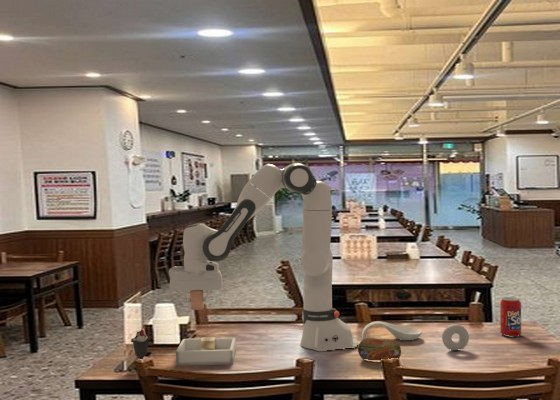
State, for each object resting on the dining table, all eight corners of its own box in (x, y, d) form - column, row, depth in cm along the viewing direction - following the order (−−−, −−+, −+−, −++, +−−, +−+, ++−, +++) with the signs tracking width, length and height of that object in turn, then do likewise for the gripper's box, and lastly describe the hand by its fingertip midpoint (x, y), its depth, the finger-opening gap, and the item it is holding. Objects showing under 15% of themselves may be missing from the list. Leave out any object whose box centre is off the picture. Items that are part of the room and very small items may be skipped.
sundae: (146, 371, 198) (145, 328, 198) (128, 370, 200) (127, 327, 199) (154, 364, 205) (153, 323, 204) (137, 364, 206) (135, 322, 205)
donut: (466, 348, 215) (466, 322, 215) (470, 351, 212) (470, 324, 211) (440, 350, 214) (440, 323, 214) (444, 352, 211) (443, 326, 210)
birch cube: (215, 349, 217) (215, 336, 217) (214, 354, 212) (214, 340, 212) (202, 350, 217) (202, 337, 217) (200, 354, 212) (200, 341, 212)
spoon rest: (418, 335, 235) (418, 317, 235) (424, 343, 223) (424, 325, 223) (360, 336, 236) (360, 318, 236) (363, 344, 224) (363, 326, 224)
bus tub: (235, 350, 219) (235, 337, 219) (232, 364, 203) (232, 350, 203) (183, 351, 219) (183, 338, 219) (176, 365, 203) (175, 351, 203)
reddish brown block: (204, 306, 223) (204, 288, 223) (202, 309, 218) (202, 291, 218) (191, 307, 223) (191, 289, 223) (189, 310, 218) (189, 291, 218)
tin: (357, 361, 204) (357, 337, 204) (360, 358, 207) (359, 335, 207) (400, 365, 199) (400, 341, 198) (402, 362, 201) (401, 338, 201)
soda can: (503, 331, 237) (503, 295, 236) (523, 334, 232) (523, 297, 231) (498, 336, 230) (497, 299, 230) (518, 339, 226) (518, 301, 225)
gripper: (167, 267, 217) (168, 304, 217) (221, 266, 216) (222, 302, 217) (170, 265, 223) (171, 300, 223) (222, 263, 223) (224, 299, 223)
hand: (197, 301), depth 220 cm, fingers closed on reddish brown block, 5 cm apart
